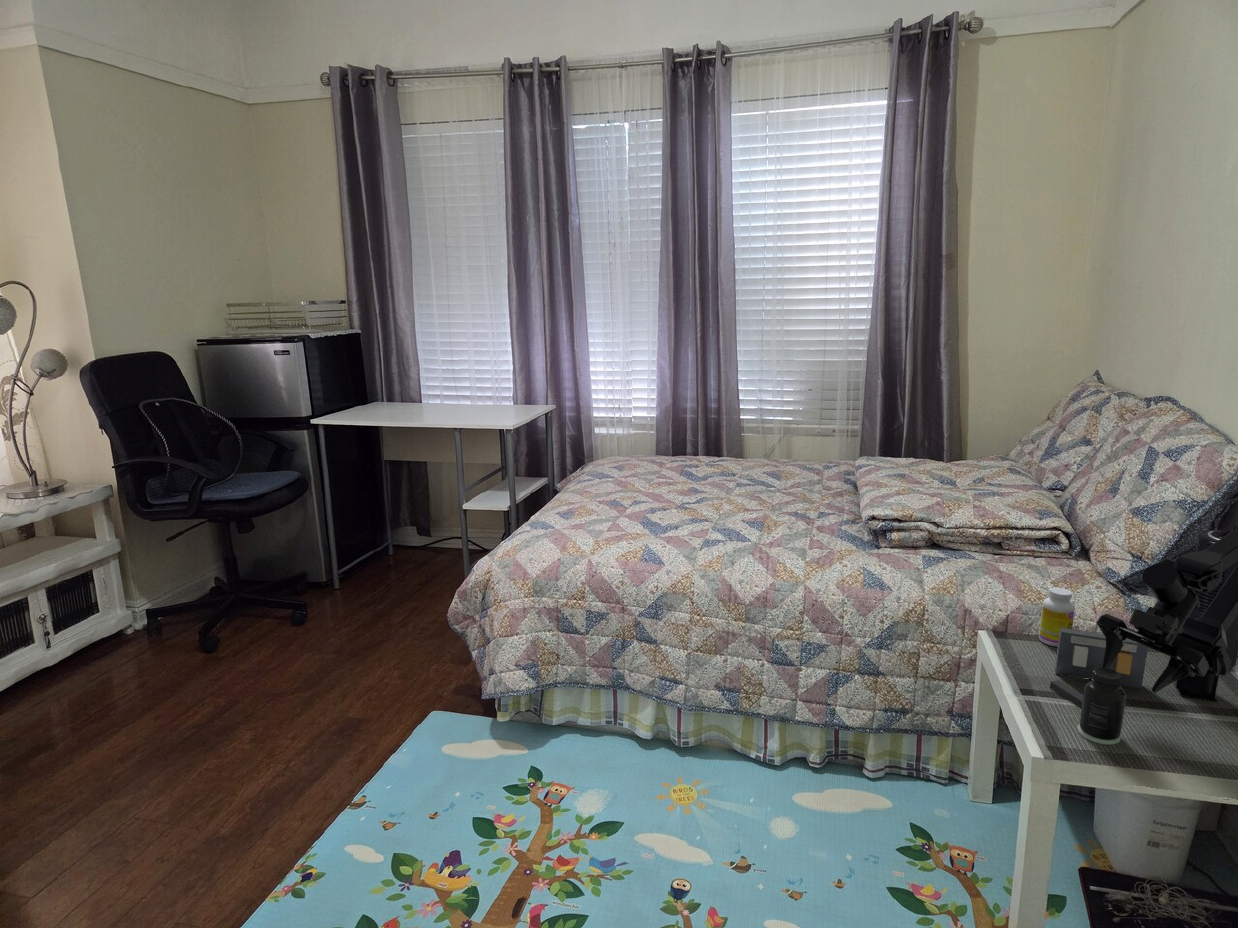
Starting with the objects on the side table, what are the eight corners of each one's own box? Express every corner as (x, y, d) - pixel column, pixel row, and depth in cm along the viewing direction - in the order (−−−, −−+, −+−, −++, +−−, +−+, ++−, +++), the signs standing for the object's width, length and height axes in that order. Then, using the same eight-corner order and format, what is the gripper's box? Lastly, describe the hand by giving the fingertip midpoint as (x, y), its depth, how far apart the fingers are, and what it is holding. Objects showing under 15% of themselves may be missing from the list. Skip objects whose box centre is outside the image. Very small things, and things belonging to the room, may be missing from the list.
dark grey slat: (1049, 689, 170) (1050, 681, 170) (1058, 687, 171) (1059, 680, 170) (1103, 724, 157) (1105, 715, 157) (1112, 722, 158) (1114, 714, 157)
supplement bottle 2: (1129, 738, 150) (1138, 680, 148) (1099, 743, 149) (1108, 684, 146) (1099, 719, 157) (1107, 662, 154) (1070, 724, 155) (1078, 667, 152)
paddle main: (1128, 671, 169) (1131, 654, 169) (1129, 674, 168) (1132, 656, 167) (1115, 669, 170) (1117, 652, 169) (1116, 672, 169) (1118, 654, 168)
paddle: (1085, 664, 173) (1087, 647, 172) (1085, 667, 171) (1088, 650, 170) (1072, 662, 173) (1074, 645, 173) (1073, 665, 172) (1075, 648, 171)
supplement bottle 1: (1068, 650, 187) (1075, 598, 184) (1036, 643, 190) (1043, 592, 187) (1071, 639, 192) (1078, 589, 189) (1040, 633, 196) (1046, 583, 193)
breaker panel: (1139, 683, 172) (1146, 640, 169) (1141, 689, 169) (1148, 645, 167) (1054, 669, 178) (1060, 627, 175) (1055, 674, 175) (1061, 632, 173)
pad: (1117, 729, 154) (1117, 726, 154) (1122, 748, 148) (1123, 745, 148) (1075, 721, 157) (1076, 718, 157) (1079, 739, 151) (1080, 736, 151)
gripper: (1109, 576, 160) (1067, 640, 158) (1213, 614, 145) (1169, 686, 143) (1124, 602, 166) (1085, 664, 164) (1226, 641, 151) (1184, 710, 149)
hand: (1127, 679), depth 155 cm, fingers open, 9 cm apart
